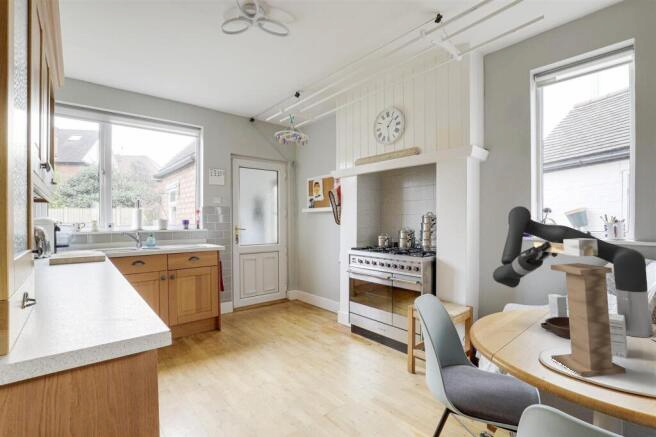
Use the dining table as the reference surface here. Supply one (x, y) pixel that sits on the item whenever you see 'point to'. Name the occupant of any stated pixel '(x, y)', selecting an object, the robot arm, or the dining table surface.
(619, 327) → the supplement box
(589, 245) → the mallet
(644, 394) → the dining table surface
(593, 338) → the wooden i-beam column
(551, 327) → the dish
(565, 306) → the skincare box
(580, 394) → the dining table surface
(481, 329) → the dining table surface
